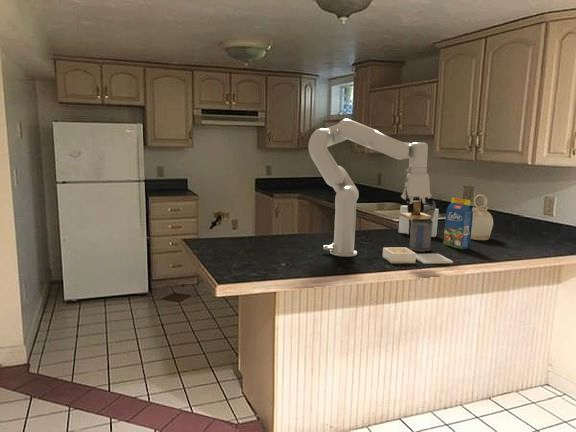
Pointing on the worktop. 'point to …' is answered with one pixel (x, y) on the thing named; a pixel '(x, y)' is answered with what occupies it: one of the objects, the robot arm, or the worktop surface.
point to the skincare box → (405, 222)
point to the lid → (416, 212)
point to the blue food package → (458, 224)
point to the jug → (481, 220)
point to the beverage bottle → (421, 230)
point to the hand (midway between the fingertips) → (415, 211)
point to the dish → (399, 255)
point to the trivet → (432, 258)
